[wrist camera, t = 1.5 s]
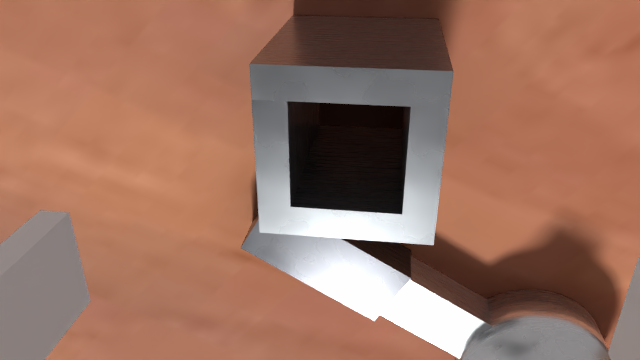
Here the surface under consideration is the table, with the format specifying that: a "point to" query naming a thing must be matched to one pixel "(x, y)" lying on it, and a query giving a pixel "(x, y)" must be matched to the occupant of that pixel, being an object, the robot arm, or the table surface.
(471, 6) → the table surface
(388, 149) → the socket
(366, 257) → the ratchet
